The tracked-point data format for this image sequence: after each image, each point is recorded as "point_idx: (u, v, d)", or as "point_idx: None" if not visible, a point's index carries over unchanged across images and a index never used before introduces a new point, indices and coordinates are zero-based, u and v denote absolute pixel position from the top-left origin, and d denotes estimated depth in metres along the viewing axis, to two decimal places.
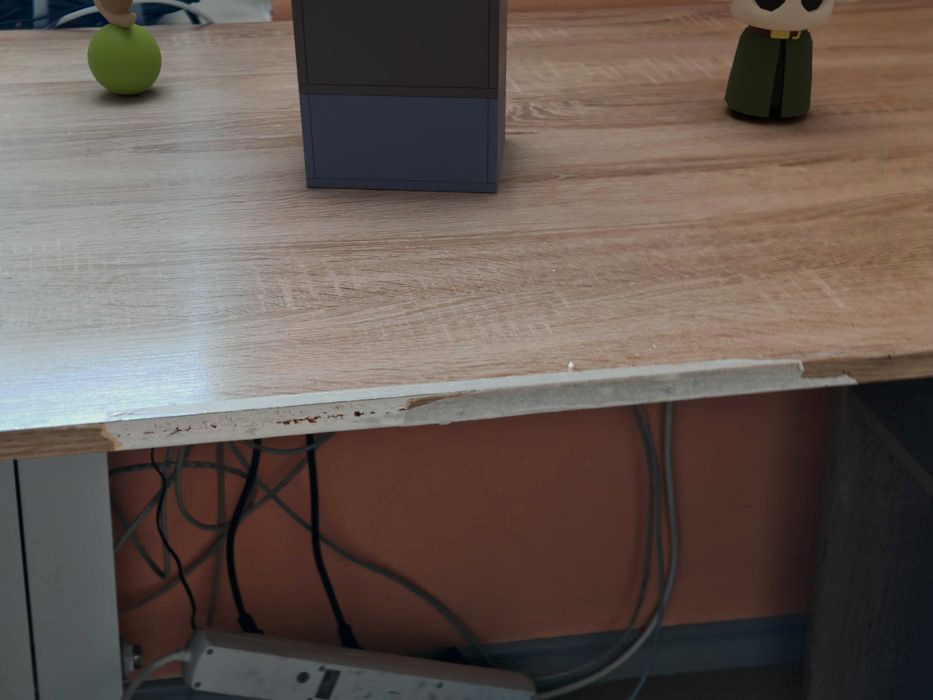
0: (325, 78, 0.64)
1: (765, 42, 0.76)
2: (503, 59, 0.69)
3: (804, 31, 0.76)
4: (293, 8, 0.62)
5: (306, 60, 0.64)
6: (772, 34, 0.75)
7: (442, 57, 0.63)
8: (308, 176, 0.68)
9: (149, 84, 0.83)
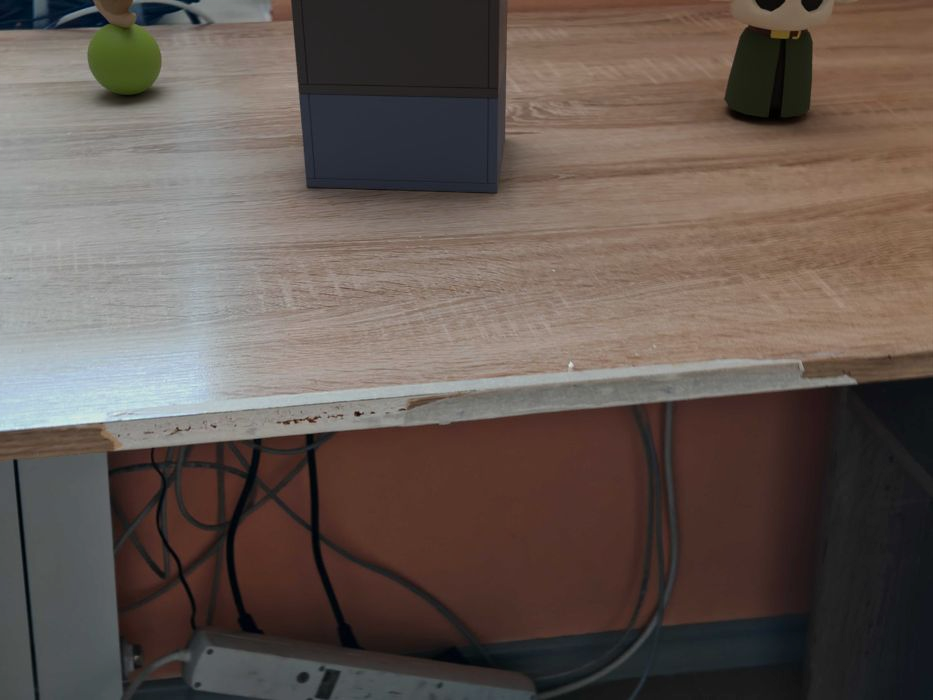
0: (325, 78, 0.64)
1: (765, 42, 0.76)
2: (503, 59, 0.69)
3: (804, 31, 0.76)
4: (293, 8, 0.62)
5: (306, 60, 0.64)
6: (772, 34, 0.75)
7: (442, 57, 0.63)
8: (308, 176, 0.68)
9: (149, 84, 0.83)
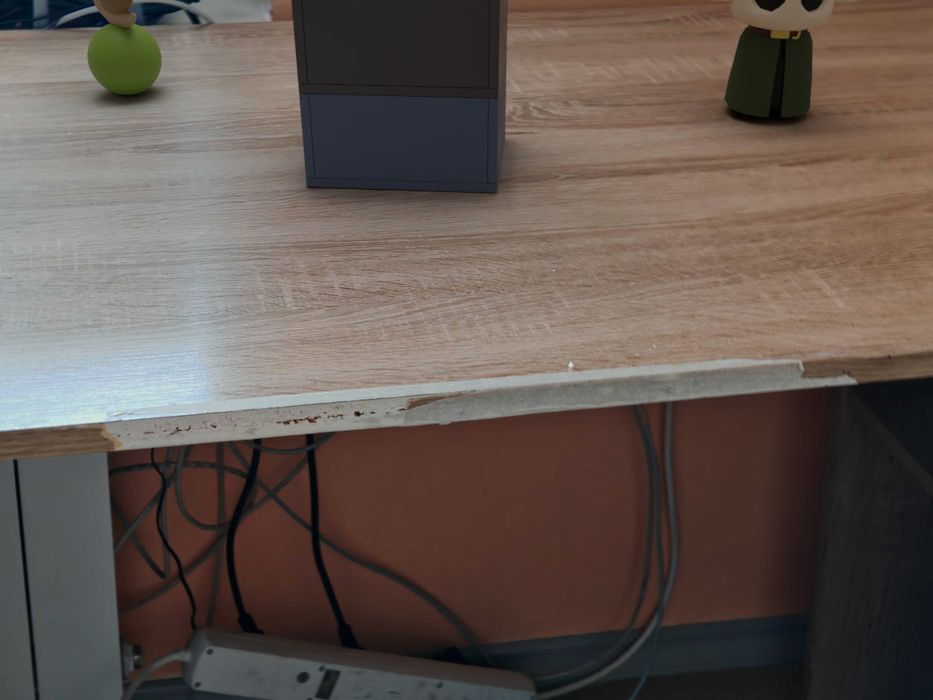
0: (325, 78, 0.64)
1: (765, 42, 0.76)
2: (503, 59, 0.69)
3: (804, 31, 0.76)
4: (293, 8, 0.62)
5: (306, 60, 0.64)
6: (772, 34, 0.75)
7: (442, 57, 0.63)
8: (308, 176, 0.68)
9: (149, 84, 0.83)
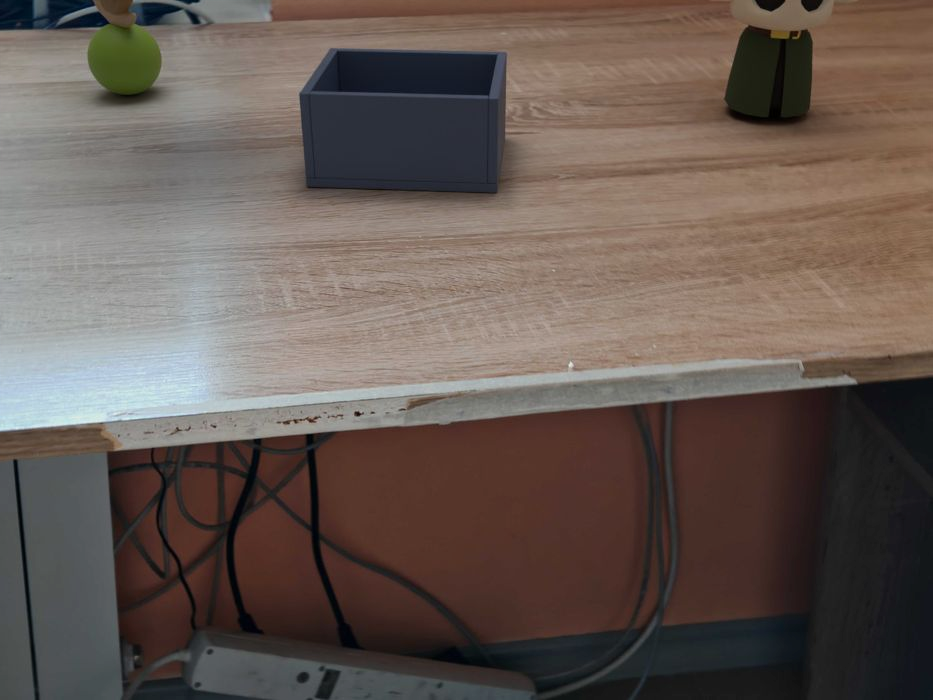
0: None
1: (765, 42, 0.76)
2: None
3: (804, 31, 0.76)
4: None
5: None
6: (772, 34, 0.75)
7: None
8: (308, 176, 0.68)
9: (149, 84, 0.83)
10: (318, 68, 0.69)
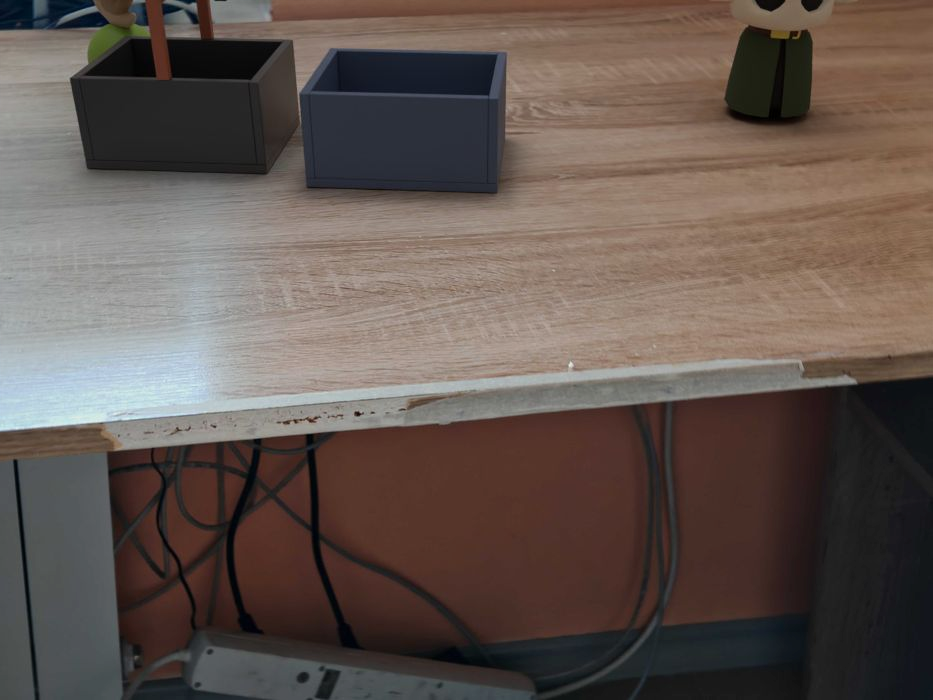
0: (109, 155, 0.70)
1: (765, 42, 0.76)
2: (285, 133, 0.74)
3: (804, 31, 0.76)
4: (73, 93, 0.68)
5: (90, 139, 0.70)
6: (772, 34, 0.75)
7: (212, 137, 0.69)
8: (308, 176, 0.68)
9: None
10: (318, 68, 0.69)
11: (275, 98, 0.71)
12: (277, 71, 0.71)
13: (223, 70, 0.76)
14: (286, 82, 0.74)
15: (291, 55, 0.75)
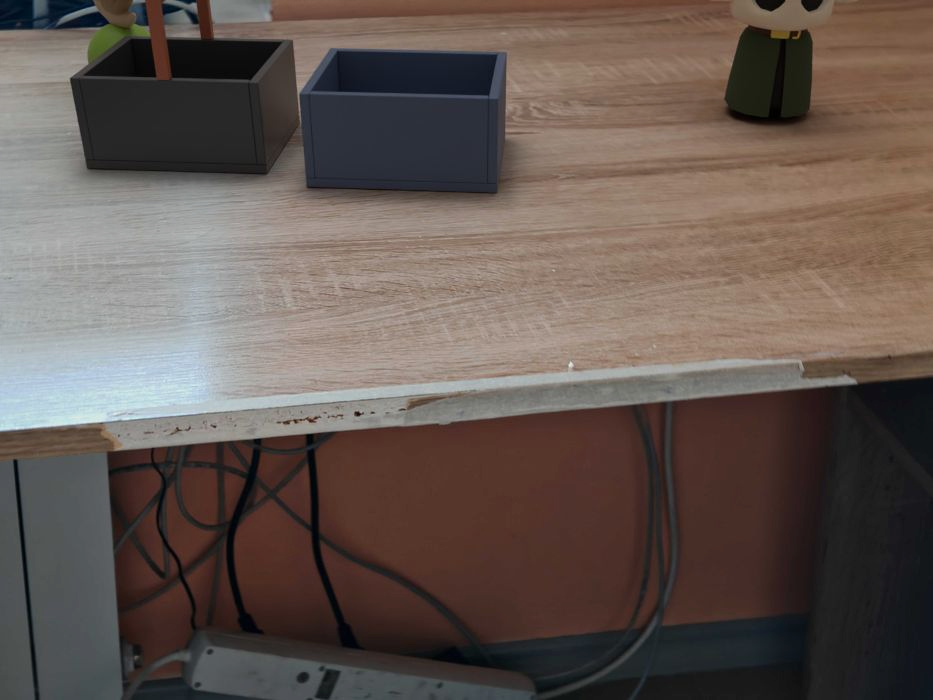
0: (109, 155, 0.70)
1: (765, 42, 0.76)
2: (285, 133, 0.74)
3: (804, 31, 0.76)
4: (73, 93, 0.68)
5: (90, 139, 0.70)
6: (772, 34, 0.75)
7: (212, 137, 0.69)
8: (308, 176, 0.68)
9: None
10: (318, 68, 0.69)
11: (275, 98, 0.71)
12: (277, 71, 0.71)
13: (223, 70, 0.76)
14: (286, 82, 0.74)
15: (291, 55, 0.75)
